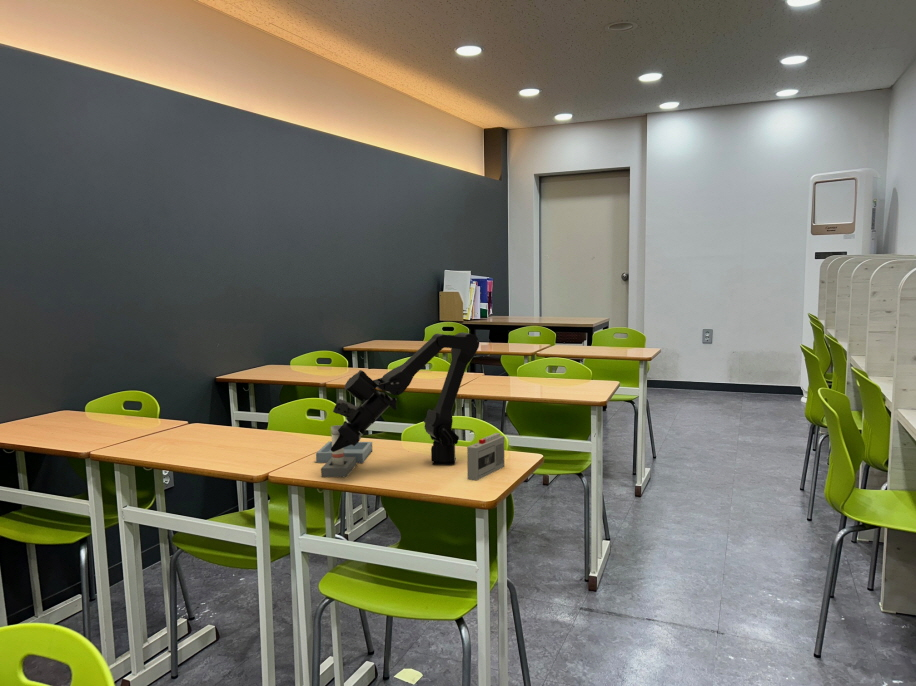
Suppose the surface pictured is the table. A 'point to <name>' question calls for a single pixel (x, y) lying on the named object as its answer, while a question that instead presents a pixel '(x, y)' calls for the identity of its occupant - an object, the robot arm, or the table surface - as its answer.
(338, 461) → the cup
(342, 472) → the block
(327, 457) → the tray
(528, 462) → the table surface
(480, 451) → the cassette player
